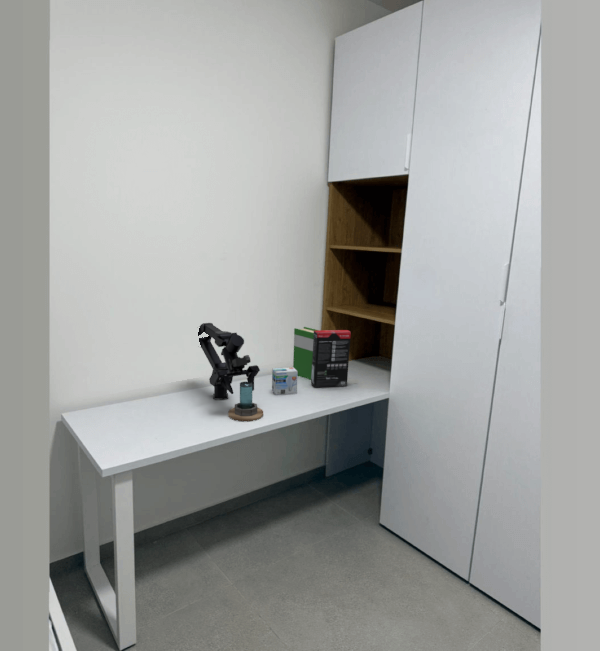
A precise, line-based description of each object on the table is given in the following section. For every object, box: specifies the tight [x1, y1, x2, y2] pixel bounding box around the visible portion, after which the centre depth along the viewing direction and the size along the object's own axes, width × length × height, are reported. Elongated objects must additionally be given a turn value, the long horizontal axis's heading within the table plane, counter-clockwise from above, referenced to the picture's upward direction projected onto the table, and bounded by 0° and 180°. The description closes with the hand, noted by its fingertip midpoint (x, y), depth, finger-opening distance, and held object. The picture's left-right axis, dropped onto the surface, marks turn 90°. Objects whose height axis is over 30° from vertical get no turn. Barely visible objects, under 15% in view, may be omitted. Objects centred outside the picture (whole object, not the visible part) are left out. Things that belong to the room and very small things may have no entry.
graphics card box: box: [310, 329, 352, 388], centre depth 240 cm, size 17×7×27 cm, turn 105°
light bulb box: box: [271, 366, 298, 396], centre depth 230 cm, size 11×7×11 cm, turn 108°
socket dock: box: [227, 402, 264, 422], centre depth 202 cm, size 14×14×4 cm
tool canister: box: [239, 381, 253, 409], centre depth 201 cm, size 5×5×12 cm
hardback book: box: [292, 326, 317, 381], centre depth 254 cm, size 18×7×24 cm, turn 42°
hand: (243, 392), depth 203 cm, fingers open, 9 cm apart
